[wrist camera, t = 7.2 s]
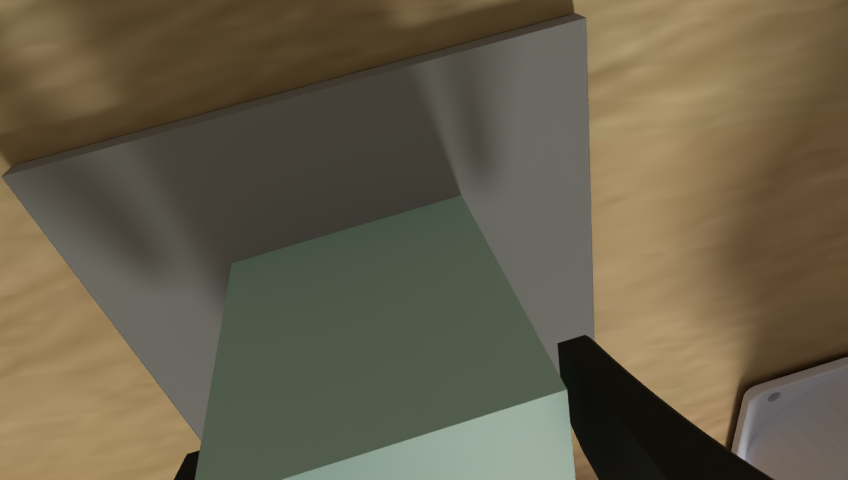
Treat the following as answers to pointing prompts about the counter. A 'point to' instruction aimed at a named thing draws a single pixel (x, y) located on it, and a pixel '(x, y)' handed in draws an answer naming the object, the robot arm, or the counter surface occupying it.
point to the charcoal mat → (332, 190)
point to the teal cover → (383, 362)
